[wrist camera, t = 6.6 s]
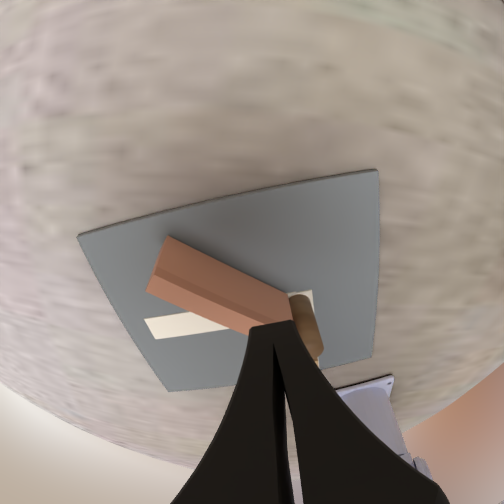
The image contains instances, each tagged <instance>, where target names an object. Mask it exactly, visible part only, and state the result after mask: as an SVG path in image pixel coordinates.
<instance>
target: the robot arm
mask: <svg viewBox="0 0 504 504" xmlns="http://www.w3.org/2000/svg"><path fill="white" fill-rule="evenodd" d="M393 383H394V376H393V375H390V376H386V377H383V378H380V379H376V380H373V381H369V382H366V383H362V384H358V385H354V386H351V387H347V388H343V389H338V390H334V388H333V387H332V386H331V384H330V383H329V382H328V380H327V379H326V378H325V376H324V375H323V373H322V372H321V370H320V369H319V367H318V366H317V364H316V363H315V361H314V360H313V358H312V357H311V355H310V353H309V352H308V350H307V348H306V346H305V344H304V343H303V341H302V339H301V337H300V334H299V332H298V330H297V327H296V325H295V321H293V320H291V319H290V320H285V321H280V322H275V323H270V324H264V325H259V326H253V327H251V328H250V329H249V336H248V342H247V347H246V352H245V356H244V360H243V364H242V367H241V370H240V374H239V377H238V380H237V383H236V386H235V389H234V392H233V395H232V397H231V400H230V402H229V405H228V407H227V410H226V412H225V415H224V417H223V419H222V422H221V424H220V426H219V428H218V430H217V432H216V434H215V436H214V438H213V440H212V442H211V444H210V445H209V447H208V449H207V451H206V452H205V454H204V456H203V458H202V459H201V461H200V463H199V464H198V466H197V467H196V469H195V471H194V472H193V474H192V475H191V476H190V478H189V479H188V481H187V482H186V483H185V485H184V486H183V488H182V489H181V490H180V492H179V493H178V495H177V496H176V497H175V498H174V500H173V501H172V502H171V503H170V504H295V503H294V496H293V489H292V482H291V475H290V468H289V461H288V451H287V431H286V409H285V394H286V398H287V402H288V405H289V409H290V413H291V417H292V421H293V427H294V434H295V441H296V449H297V456H298V463H299V471H300V479H301V487H302V495H303V503H304V504H450V503H449V501H448V499H447V497H446V495H445V494H444V492H443V491H442V489H441V488H440V486H439V485H438V484H437V483H435V482H434V481H433V479H432V476H431V473H430V470H429V468H428V466H427V463H426V461H425V460H424V459H422V458H419V457H416V458H414V459H413V461H412V458H411V455H410V453H408V452H407V448H406V446H405V443H404V440H403V437H402V434H401V431H400V428H399V425H398V422H397V419H396V417H395V414H394V411H393V408H392V406H391V403H390V400H389V397H390V394H391V390H392V386H393ZM413 463H414V464H413ZM499 504H504V501H502V502H501V503H499Z"/></svg>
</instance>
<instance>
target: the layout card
mask: <svg viewBox="0 0 504 504" xmlns="http://www.w3.org/2000/svg"><path fill="white" fill-rule="evenodd" d="M167 235H168V236H170V237H172V238H174V239H176V240H178V241H180V242H182V243H184V244H186V245H188V246H190V247H192V248H194V249H196V250H198V251H200V252H202V253H204V254H206V255H208V256H210V257H212V258H214V259H216V260H218V261H220V262H222V263H224V264H226V265H228V266H230V267H232V268H234V269H236V270H238V271H240V272H243V273H245V274H247V275H249V276H251V277H253V278H255V279H257V280H259V281H261V282H263V283H265V284H267V285H269V286H271V287H274V288H276V289H278V290H280V291H282V292H284V293H286V294H287V295H288V298H290V297H291V296H293V295H297V294H303V295H306V296H307V297H308V298H309V299H310V302H311V305H312V308H313V312H314V315H315V318H316V322H317V325H318V329H319V332H320V335H321V339H322V342H323V346H324V350H323V352H322V354H321V355H320V356H318V357H317V358H318V365H319V369H320V370H322V369H326V368H331V367H335V366H339V365H343V364H347V363H351V362H355V361H359V360H363V359H367V358H370V357H372V349H373V340H374V330H375V320H376V308H377V294H378V276H379V247H380V202H379V173H378V170H377V169H371V170H365V171H358V172H352V173H346V174H340V175H334V176H328V177H322V178H316V179H311V180H305V181H300V182H294V183H289V184H284V185H279V186H274V187H269V188H264V189H259V190H254V191H249V192H244V193H240V194H235V195H230V196H226V197H221V198H217V199H213V200H208V201H204V202H200V203H195V204H191V205H187V206H183V207H179V208H175V209H170V210H166V211H162V212H159V213H155V214H151V215H147V216H143V217H139V218H135V219H132V220H128V221H124V222H121V223H117V224H113V225H110V226H106V227H103V228H99V229H96V230H92V231H89V232H85V233H82V234H79V235H78V236H77V240H78V242H79V244H80V246H81V248H82V250H83V252H84V254H85V256H86V258H87V260H88V262H89V264H90V266H91V268H92V270H93V272H94V274H95V276H96V278H97V279H98V281H99V283H100V285H101V287H102V289H103V291H104V292H105V294H106V296H107V298H108V299H109V301H110V303H111V305H112V306H113V308H114V310H115V312H116V313H117V315H118V317H119V318H120V320H121V322H122V323H123V325H124V327H125V328H126V330H127V332H128V333H129V335H130V336H131V338H132V339H133V341H134V343H135V344H136V346H137V347H138V349H139V350H140V352H141V353H142V355H143V356H144V358H145V359H146V361H147V362H148V364H149V365H150V367H151V368H152V370H153V371H154V373H155V374H156V375H157V377H158V378H159V380H160V381H161V382H162V384H163V385H164V387H165V388H166V389H167V391H168V392H175V391H187V390H198V389H207V388H216V387H224V386H232V385H236V383H237V380H238V377H239V374H240V370H241V367H242V364H243V360H244V356H245V352H246V347H247V342H248V336H247V335H245V334H242V333H240V332H237V331H235V330H232V329H230V328H227V327H225V326H223V325H220V324H218V323H215V322H213V321H211V320H208V319H206V318H203V317H201V316H199V315H196V314H194V313H192V312H190V311H187V310H185V309H183V308H180V307H178V306H176V305H174V304H172V303H169V302H167V301H165V300H163V299H161V298H158V297H156V296H154V295H152V294H150V293H148V292H145V290H146V287H147V284H148V282H149V279H150V276H151V274H152V271H153V268H154V265H155V262H156V260H157V257H158V254H159V252H160V249H161V247H162V245H163V243H164V241H165V239H166V237H167Z"/></svg>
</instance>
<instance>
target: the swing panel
mask: <svg viewBox="0 0 504 504" xmlns="http://www.w3.org/2000/svg"><path fill="white" fill-rule="evenodd" d="M145 292H148V293H150V294H152V295H154V296H156V297H158V298H161V299H163V300H165V301H167V302H169V303H172V304H174V305H176V306H178V307H180V308H183V309H185V310H187V311H190V312H192V313H194V314H196V315H199V316H201V317H203V318H206V319H208V320H211V321H213V322H215V323H218V324H220V325H223V326H225V327H227V328H230V329H232V330H235V331H237V332H240V333H242V334H245V335H247V336H249V329H250V328H251V327H253V326H259V325H264V324H270V323H275V322H280V321H285V320H290V319H291V320H293V317H292V313H291V308H290V304H289V299H288V295H287V294H286V293H284V292H282V291H280V290H278V289H276V288H274V287H271V286H269V285H267V284H265V283H263V282H261V281H259V280H257V279H255V278H253V277H251V276H249V275H247V274H245V273H243V272H240V271H238V270H236V269H234V268H232V267H230V266H228V265H226V264H224V263H222V262H220V261H218V260H216V259H214V258H212V257H210V256H208V255H206V254H204V253H202V252H200V251H198V250H196V249H194V248H192V247H190V246H188V245H186V244H184V243H182V242H180V241H178V240H176V239H174V238H172V237H170V236H168V235H167V237H166V239H165V241H164V243H163V245H162V247H161V249H160V252H159V254H158V257H157V260H156V262H155V265H154V268H153V271H152V274H151V276H150V279H149V282H148V284H147V287H146V290H145Z"/></svg>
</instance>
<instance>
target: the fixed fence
mask: <svg viewBox="0 0 504 504" xmlns="http://www.w3.org/2000/svg"><path fill="white" fill-rule="evenodd" d="M288 299H289V304H290V308H291V313H292V317H293V321H295V325H296V327H297V330H298V332H299V334H300V337H301V339H302V341H303V343H304V344H305V346H306V348H307V350H308V352H309V353H310V355H311V357H312V358H313V360H314V361H315V363H316V364H317V366H318V367H319V365H318V358H317V357H318V356H320V355H321V354H322V352H323V350H324V346H323V342H322V339H321V335H320V332H319V329H318V325H317V322H316V318H315V315H314V312H313V308H312V305H311V302H310V299H309V298H308V297H307V296H306V295H303V294H297V295H293V296H291V297H290V298H288Z"/></svg>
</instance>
